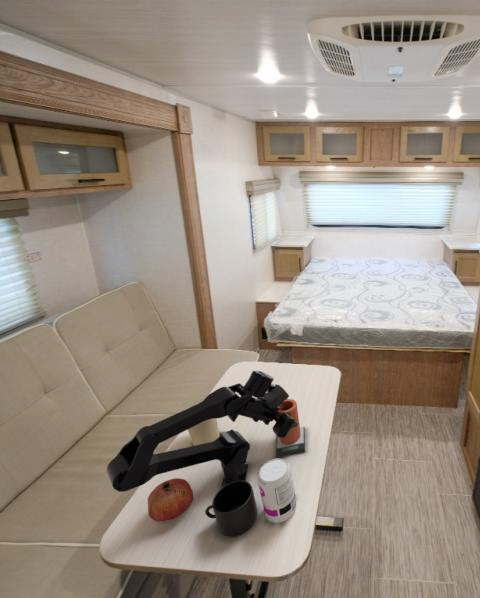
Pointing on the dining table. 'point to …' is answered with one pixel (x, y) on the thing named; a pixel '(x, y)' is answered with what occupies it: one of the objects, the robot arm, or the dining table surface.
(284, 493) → the supplement can
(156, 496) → the fruit
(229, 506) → the mug
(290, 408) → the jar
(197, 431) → the coffee cup
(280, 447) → the scale
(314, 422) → the dining table surface
